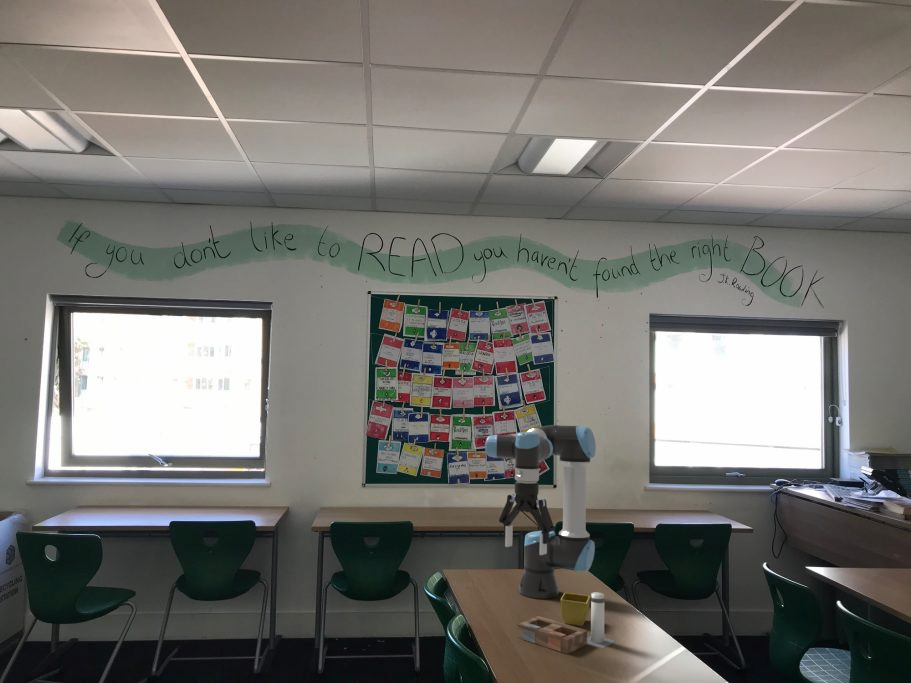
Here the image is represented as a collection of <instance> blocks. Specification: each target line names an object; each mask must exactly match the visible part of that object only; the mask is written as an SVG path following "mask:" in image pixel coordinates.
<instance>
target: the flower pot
mask: <svg viewBox="0 0 911 683" xmlns="http://www.w3.org/2000/svg"><path fill="white" fill-rule="evenodd" d="M590 604H591V595H588V594H587V595H586V594H580V593H571V592H564V593H563V595H562V596H561V598H560V608H561V609H560V611H561V617H562V620H563V623H564V624H567V625H570V626H577V627H578V626H579V627H583V626H584V624H585V622H586V619H587V616H588V614H589V610H590Z"/></svg>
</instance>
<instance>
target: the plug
mask: <svg viewBox="0 0 911 683" xmlns="http://www.w3.org/2000/svg"><path fill="white" fill-rule="evenodd" d="M605 602H606V601H605V594H604V593H602V592H596V591H595V592H591V593H590V606H591V607H590V635H591V641H592V642H593V643H598V644H601V643H604V638H605Z"/></svg>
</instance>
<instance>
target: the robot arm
mask: <svg viewBox="0 0 911 683" xmlns="http://www.w3.org/2000/svg"><path fill="white" fill-rule="evenodd" d="M484 443H485V447H484V450H485V454H486V455H487V456H488V457H489V458H495V459H496V458H497V459H514V460H515V466H514V467H515V471H514V472H515V474H514V480H515V482H514V494H507V497H506V503H505V504H504V507H503V509H502V511H501V514H500V517H499V519H498V523H501V524H502V525H503V535H504V537H505V538H504V541H505V542H504V546H505V548H509V547H513V533H514V532H513V530H514V529H513V528H514V525H513V523H512V522H514V520H515V519H516V517H517V516H518V515H519V514H520V512H525V513H530V515H531V516H532V517H533V519H534V520H535V522H536V524H537V526H538V527H539V529H540V530H535V531H531V532H528V533H526V534H525V536H524V544H523V545H524V546H523V547H524V549H523V550H524V552H523V553H524V555H523V556H524V559H523V561H524V564H523V565H524V566H523V574H522V577H521V580H520V583H519V586H518V588H519V594H521V595H522V596H525V597H528V598H534V599H551V598H555V597H558V596H559V595H560V594H559V591H560V590H559V585H558V581H557V578H556V575H555V568H556V569H561V570H568V571H574V572H583V573H584V572H585V573H586V572H587V571H589V570H590V569H591V566H592V564H593V561H594V557H595V551H596V550H595V549H596V546H595V541H594V540H592V539H590V536H591V535H590V533H589V532H588V531H587V529H586V525H587V524H586V523H587V522H586V520H587V519H586V518H587V514H586V513H587V511H586V507H587V506H586V505H587V467H588V465H589V464H590V463H591V459H592V458H594V457H595V456H596V449H597V447H596V440H595V436H594V433H593V430H592V429H591V428H590V427H588V426H581V425H560V424H559V425H556V424H551V425H544V426H539V427H534V428H531V429H529V430H527V431H525V432H520V431H519V432H517V433H511V434H504V435H500V434H499V435H498V434H495V435H494V434H493V435H492V434H491V435H489V436H487V438H486V440H485V442H484ZM551 456H559V462H560V463H561V464H562V466H563V474H562V476H563V478H562V479H563V480H562V481H563V482H562V484H563V485H562V486H563V487H562V488H563V489H562V490H563V491H562V492H563V493H562V496H563V498H562V529H561V530H559V532H558V536H556V532H555V525H554V523H553V519H552V518H551V514H550V512H549V510H548V509H549V508H548V507H547V505H548V504H547V500H546V498H545V499H538V495H539V491H540V490H539V489H540V488H539V486H540V485H539V484H540V483H538V481H539V480H540V461H545V460H547V459H548V458H550V457H551ZM514 504H515V505H514Z"/></svg>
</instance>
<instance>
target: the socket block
mask: <svg viewBox="0 0 911 683" xmlns="http://www.w3.org/2000/svg"><path fill="white" fill-rule="evenodd" d="M587 637H588V630H587V629H584V628H582V627H581V628H580V627H578V626H575V625H570V624H565V622H559V621H556V620H553V619H550V618H546V617H543V616H539V615H537V616H535V617H532V618H530V619H528V620H525V621H523V622H520V623H518V624H517V638H518V639H520V640H524V641H527V642H529V643H531V644H532V643H533V644H535V645H539V646H541V647H544V648H547V649H551V650H553V651H556V652H559V653H562V654H566V655H569V654H571V653H573V652H575V651H577V650H579V649H581V648H583V647H584V646H586V645H588V644H587Z"/></svg>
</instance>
